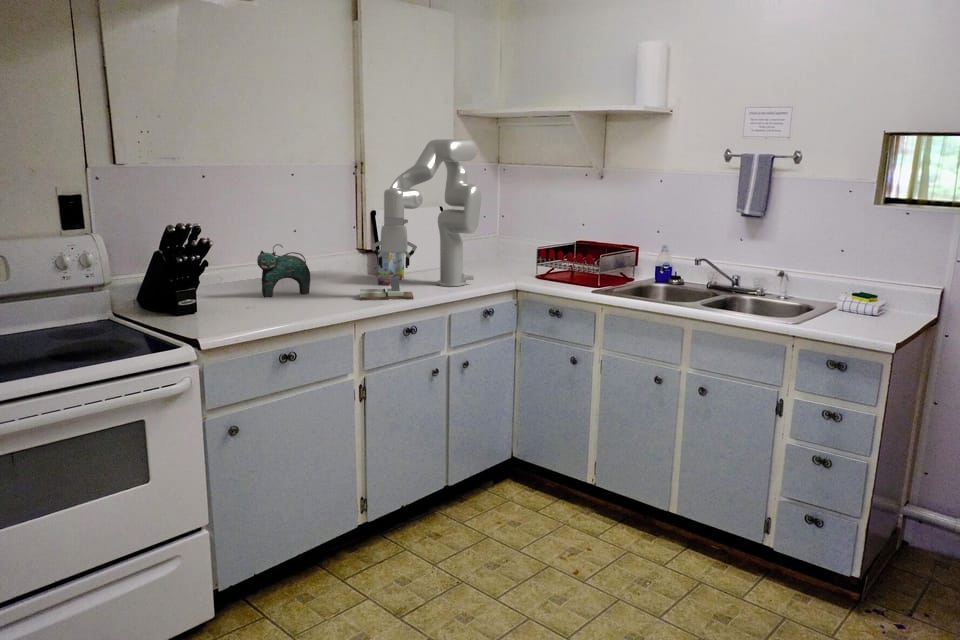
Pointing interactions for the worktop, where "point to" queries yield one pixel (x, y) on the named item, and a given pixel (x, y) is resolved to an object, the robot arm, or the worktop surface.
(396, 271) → the snack box
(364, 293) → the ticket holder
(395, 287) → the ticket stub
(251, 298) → the worktop surface
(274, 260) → the ceramic cat
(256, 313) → the worktop surface
